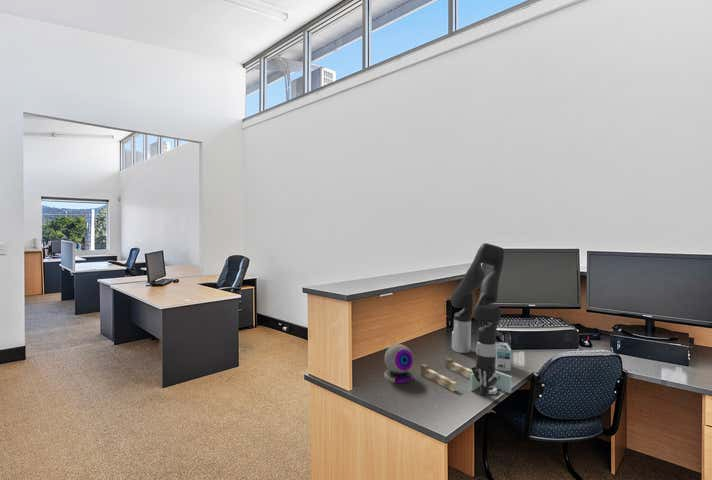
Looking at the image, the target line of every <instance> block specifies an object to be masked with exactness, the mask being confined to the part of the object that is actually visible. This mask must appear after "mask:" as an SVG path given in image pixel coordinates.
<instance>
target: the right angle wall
mask: <svg viewBox="0 0 712 480" xmlns="http://www.w3.org/2000/svg"><path fill="white" fill-rule="evenodd" d="M495 374H496V375H497V376H499V377H500V379H499V380H498V381H497V382H496V383H495V384H494V385H493V386H490V387H489V393H488V394H495V395H496V393H498V392H499V391H498V390H500V389H501V390H500V391H502V390H503V392H505V393H508V394H511V393H512V379H513V377H512V375H509V374H505V373H504V372H500V371H498V370H495ZM478 377H479V376H478ZM492 377H493V376H492ZM492 377H491V380H492ZM491 380H490V381H491ZM479 388H480V389H479ZM477 389H479V391H481V384H480V382H478V381H477V380H476V378H475V375H474V373H472V374H470V379H469V391H470V392H472V391H475V390H477ZM488 394H487V395H488Z"/></svg>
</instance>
